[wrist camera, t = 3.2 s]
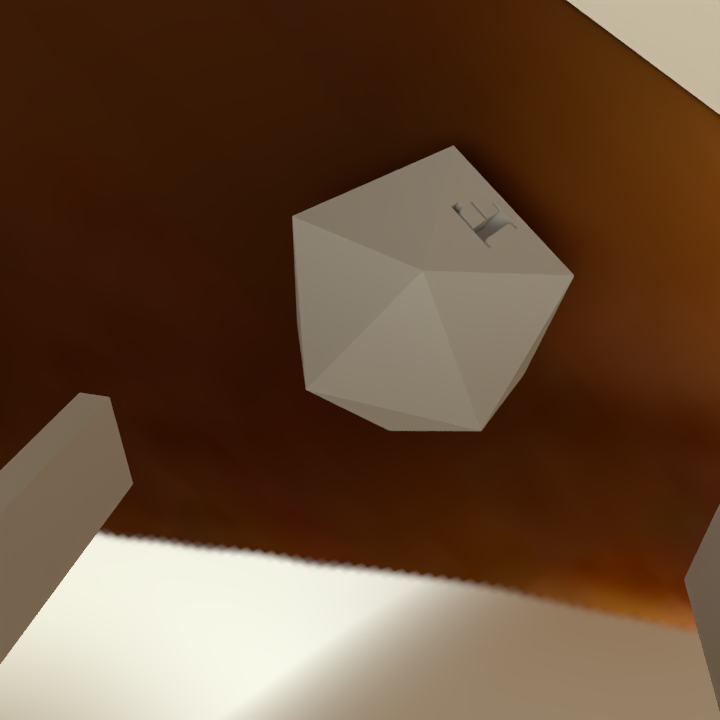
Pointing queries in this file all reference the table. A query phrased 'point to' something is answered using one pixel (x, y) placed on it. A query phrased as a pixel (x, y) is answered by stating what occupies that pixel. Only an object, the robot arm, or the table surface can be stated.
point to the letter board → (668, 38)
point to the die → (421, 297)
